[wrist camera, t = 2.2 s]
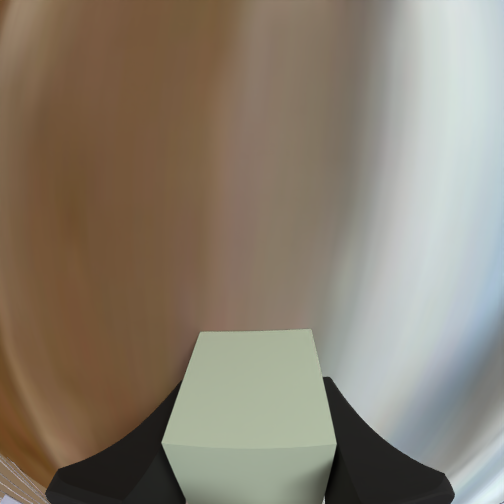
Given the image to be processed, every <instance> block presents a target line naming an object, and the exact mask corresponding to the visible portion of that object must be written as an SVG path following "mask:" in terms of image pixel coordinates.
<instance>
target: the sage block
mask: <svg viewBox="0 0 504 504" xmlns="http://www.w3.org/2000/svg"><path fill="white" fill-rule="evenodd" d="M336 445H337V443H336V438H335V433H334V428H333V423H332V419H331V414H330V409H329V405H328V400H327V396H326V391H325V387H324V382H323V378H322V373H321V369H320V365H319V360H318V356H317V352H316V347H315V343H314V339H313V335H312V331H311V329H299V330H276V331H237V332H200V334H199V337H198V339H197V342H196V345H195V348H194V351H193V353H192V356H191V359H190V362H189V365H188V368H187V370H186V373H185V376H184V379H183V382H182V385H181V387H180V390H179V393H178V396H177V399H176V402H175V405H174V408H173V411H172V413H171V416H170V419H169V422H168V425H167V428H166V431H165V434H164V437H163V440H162V446H163V448H164V451H165V453H166V455H167V458H168V460H169V463H170V465H171V467H172V470H173V472H174V474H175V476H176V479H177V481H178V483H179V485H180V488H181V490H182V492H183V494H184V496H185V498H186V500H187V502H188V504H322V502H323V499H324V495H325V491H326V487H327V483H328V479H329V475H330V471H331V467H332V463H333V458H334V454H335V449H336Z"/></svg>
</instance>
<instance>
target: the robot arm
mask: <svg viewBox="0 0 504 504" xmlns="http://www.w3.org/2000/svg"><path fill="white" fill-rule="evenodd" d="M322 378H323V382H324V387H325V391H326V396H327V400H328V405H329V409H330V414H331V419H332V423H333V428H334V433H335V438H336V443H337V445H336V449H335V454H334V458H333V463H332V467H331V471H330V475H329V479H328V483H327V487H326V491H325V504H451V502H452V501H453V499H454V496H455V493H454V491H453V488H452V486H451V484H450V482H449V480H448V479H447V477H446V476H445V474H444V473H442V472H439V471H437V470H435V469H432V468H430V467H427V466H425V465H423V464H421V463H419V462H417V461H415V460H413V459H412V458H410V457H408V456H407V455H405V454H404V453H402V452H401V451H399V450H397V449H396V448H394V447H393V446H392V445H390V444H389V443H388V442H387V441H385V440H384V439H383V438H382V437H380V436H379V435H378V434H377V433H376V432H375V431H374V430H373V429H372V428H371V427H370V426H369V425H368V424H367V423H366V422H365V421H364V420H363V419H362V418H361V417H360V416H359V415H358V414H357V413H356V411H355V410H354V409H353V408H352V407H351V405H350V404H349V403H348V402H347V400H346V399H345V398H344V396H343V395H342V394H341V392H340V391H339V389H338V388H337V386H336V385H335V383H334V382H333V380H332V379H331V378H330V377H322ZM182 382H183V380H182V381H181V382H180V383H179V384H178V385H177V386H176V387H175V389H174V390H173V391H172V392H171V393H170V394H169V396H168V397H167V398H166V399H165V400H164V401H163V402H162V403H161V404H160V405H159V407H158V408H157V409H156V410H155V411H154V412H153V413H152V414H151V415H150V416H149V417H148V418H147V419H145V420H144V421H143V422H142V423H141V424H140V425H139V426H138V427H137V428H135V429H134V430H133V431H132V432H131V433H129V434H128V435H127V436H125V437H124V438H123V439H121V440H120V441H118V442H117V443H115V444H113V445H112V446H110V447H108V448H107V449H105V450H103V451H102V452H100V453H98V454H96V455H94V456H92V457H89V458H87V459H85V460H83V461H80V462H78V463H75V464H72V465H69V466H66V467H63V468H60V469H58V471H57V472H56V474H55V475H54V477H53V479H52V481H51V483H50V485H49V486H48V488H47V490H46V493H45V495H46V497H47V500H48V501H49V502H50V503H51V504H186V498H185V496H184V494H183V492H182V490H181V488H180V485H179V483H178V481H177V479H176V476H175V474H174V472H173V470H172V467H171V465H170V463H169V460H168V458H167V455H166V453H165V451H164V448H163V446H162V440H163V437H164V434H165V431H166V428H167V425H168V422H169V419H170V416H171V413H172V411H173V408H174V405H175V402H176V399H177V396H178V393H179V390H180V387H181V385H182ZM0 504H23V503H21V502H19V501H18V500H16V499H14V498H12V497H10V496H9V495H5V496H4V498H3V499H2V501H1V503H0ZM500 504H504V502H502V503H500Z"/></svg>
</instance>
